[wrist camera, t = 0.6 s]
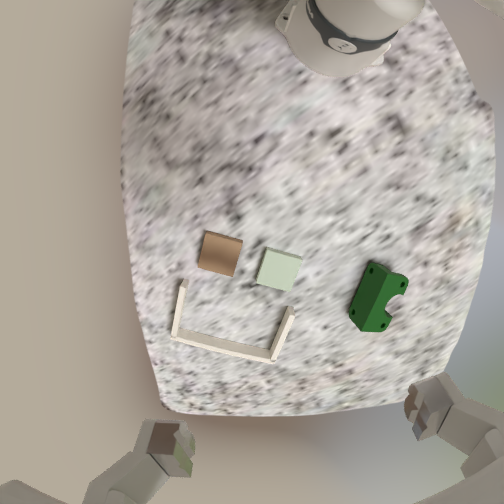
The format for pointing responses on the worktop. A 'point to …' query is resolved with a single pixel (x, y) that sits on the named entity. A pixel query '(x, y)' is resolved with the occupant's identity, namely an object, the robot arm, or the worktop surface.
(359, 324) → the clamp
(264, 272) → the sage tile
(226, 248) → the walnut tile
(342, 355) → the worktop surface
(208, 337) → the white u-shaped frame
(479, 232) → the worktop surface
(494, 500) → the robot arm
